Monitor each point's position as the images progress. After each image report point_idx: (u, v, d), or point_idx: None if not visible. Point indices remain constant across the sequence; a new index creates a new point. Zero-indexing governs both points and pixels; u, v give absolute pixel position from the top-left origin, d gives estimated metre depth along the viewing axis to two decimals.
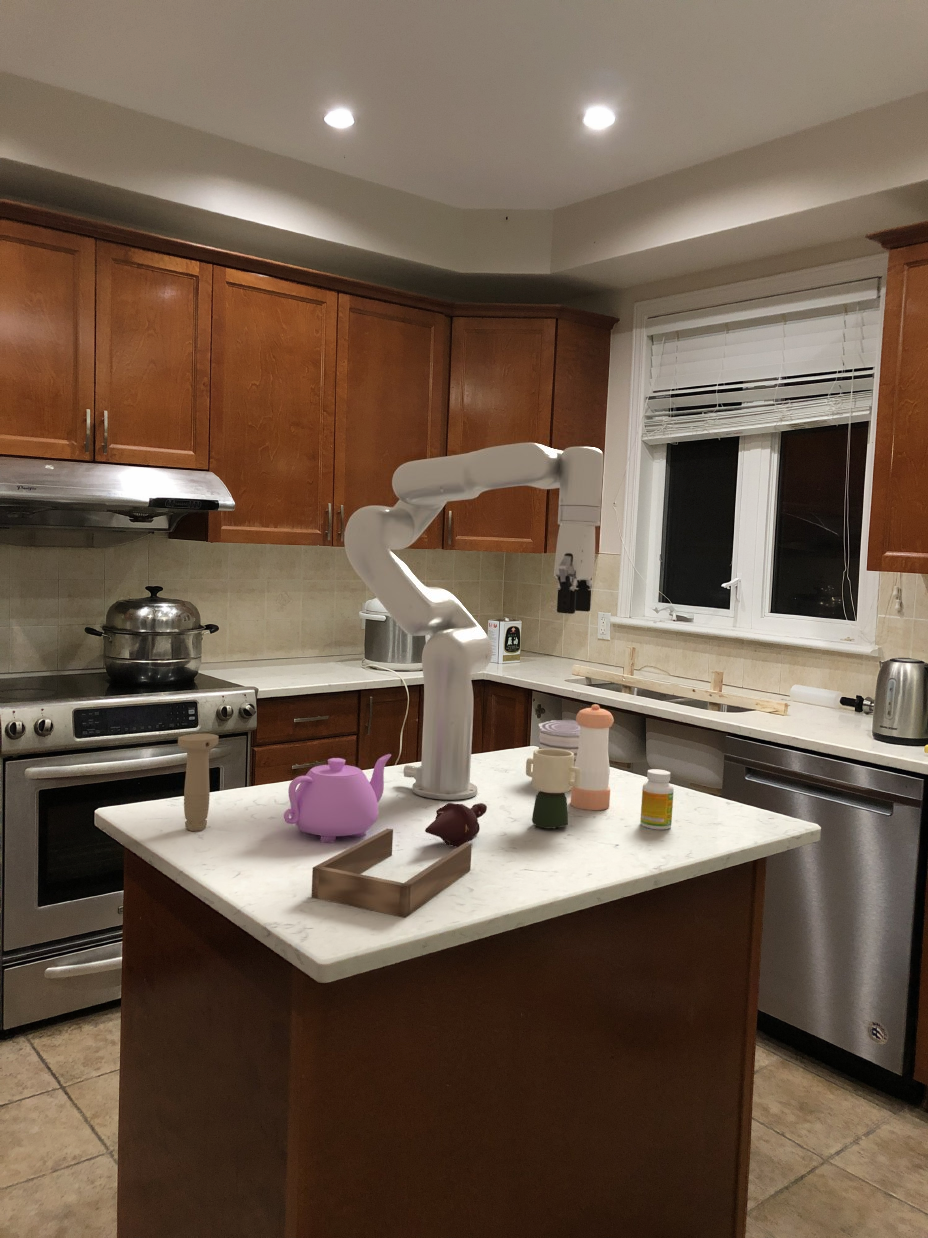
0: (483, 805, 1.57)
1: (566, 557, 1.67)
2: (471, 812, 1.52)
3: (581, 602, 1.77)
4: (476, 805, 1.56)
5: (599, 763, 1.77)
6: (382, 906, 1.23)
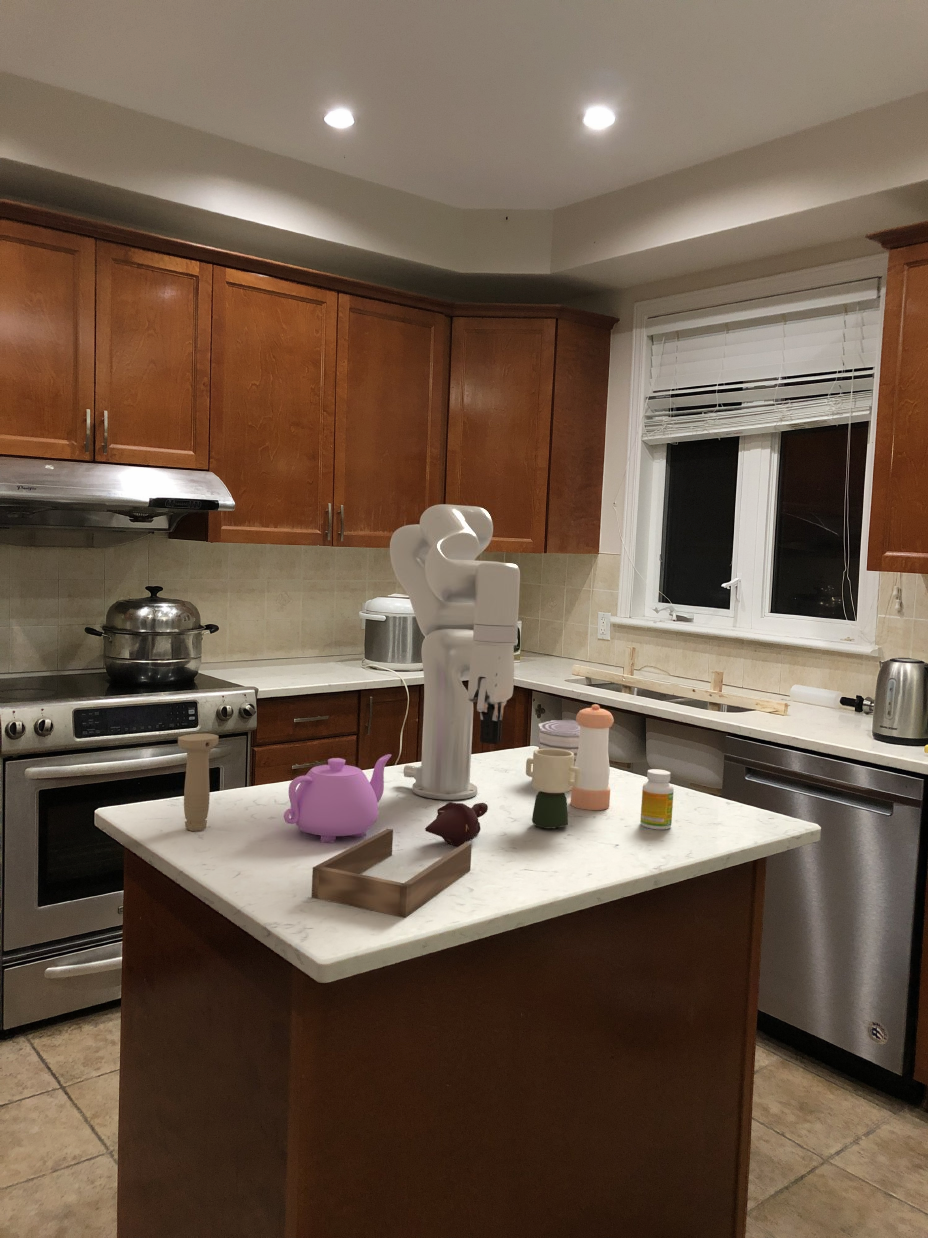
0: (484, 804, 1.57)
1: (481, 690, 1.58)
2: (472, 812, 1.53)
3: None
4: (477, 805, 1.57)
5: (599, 763, 1.77)
6: (382, 906, 1.23)
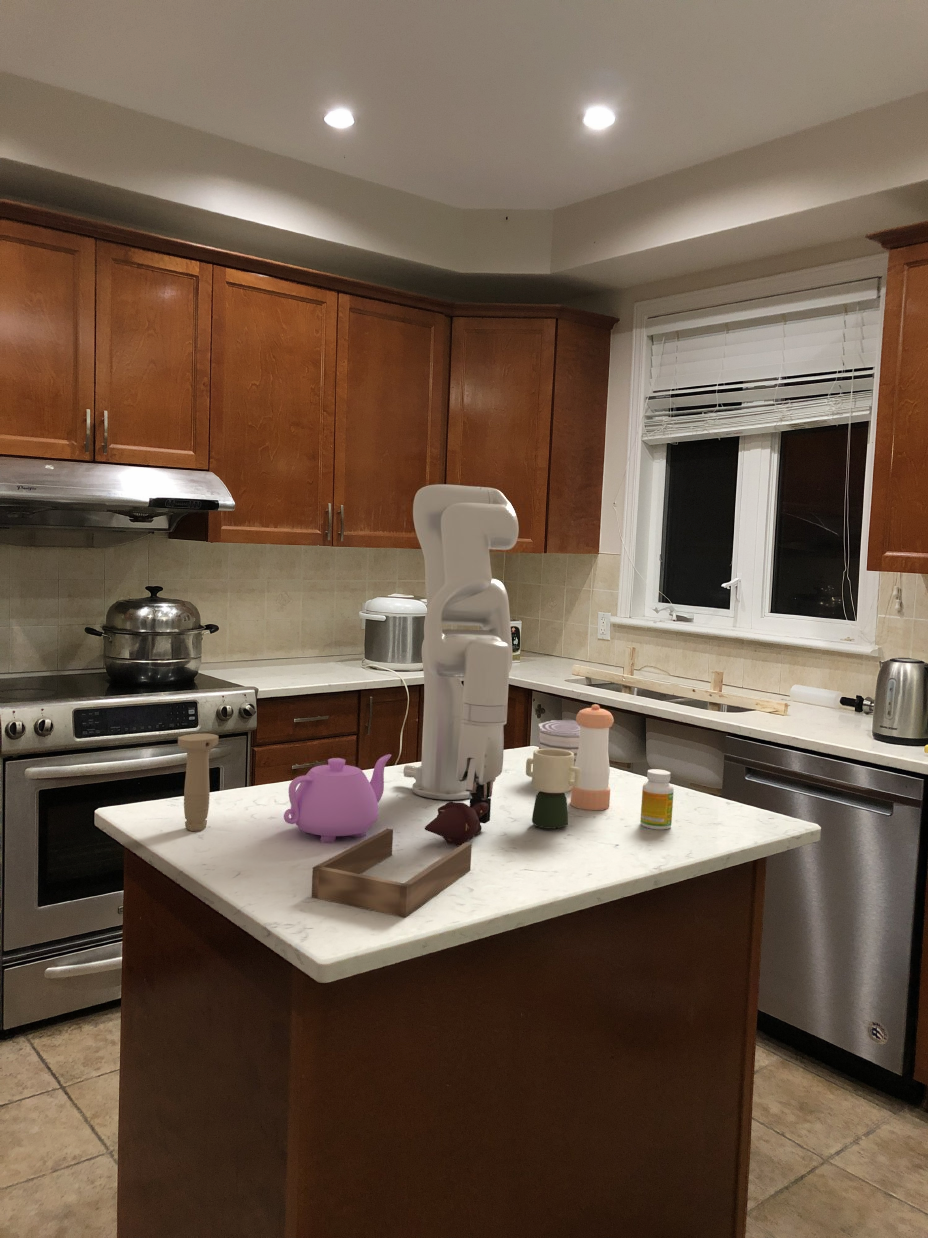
0: (485, 804, 1.57)
1: (470, 771, 1.57)
2: (472, 811, 1.53)
3: None
4: (478, 804, 1.57)
5: (599, 763, 1.77)
6: (382, 906, 1.23)
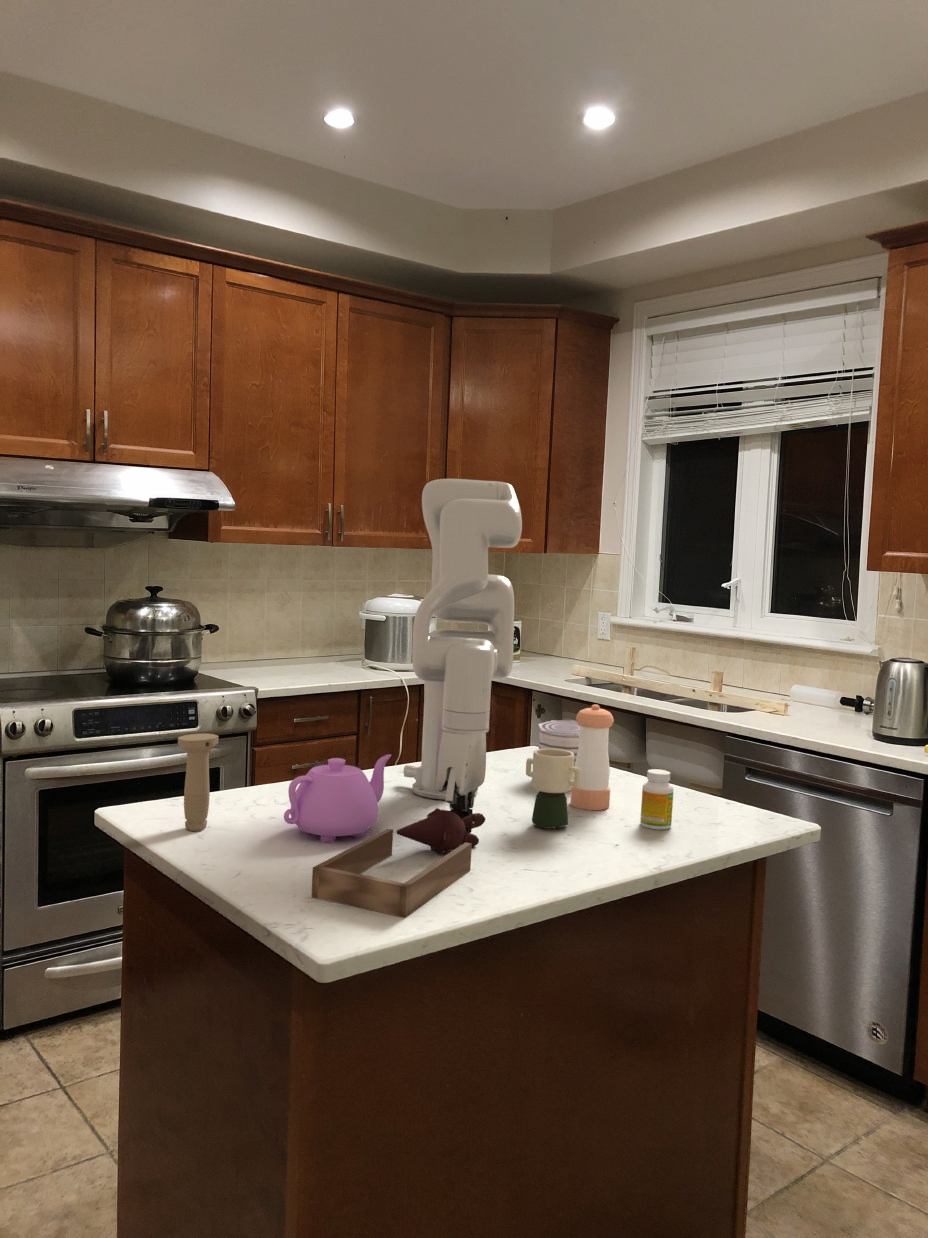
0: (479, 815, 1.50)
1: (450, 781, 1.50)
2: (455, 820, 1.47)
3: None
4: (472, 815, 1.51)
5: (599, 763, 1.77)
6: (382, 906, 1.23)
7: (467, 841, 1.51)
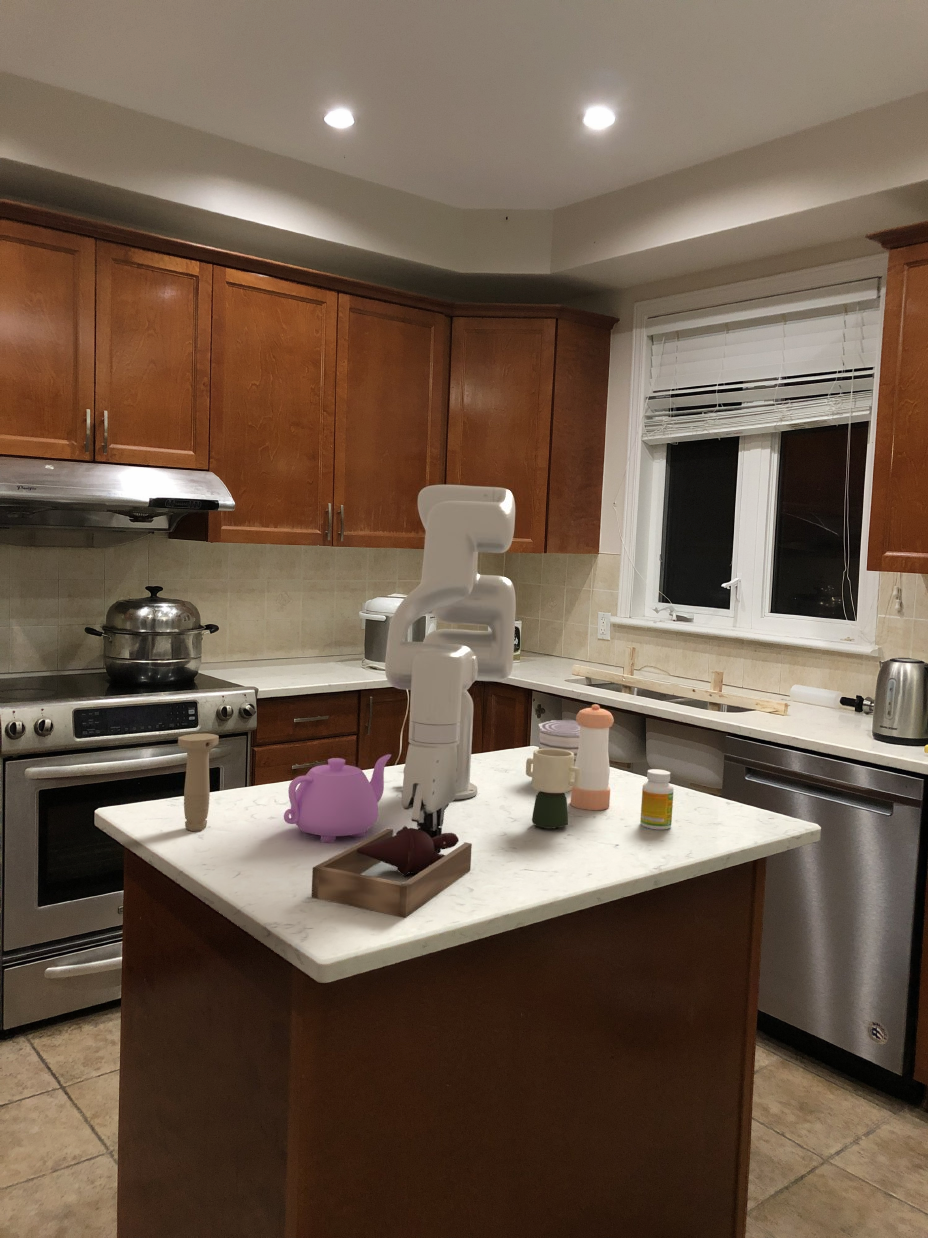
0: (451, 835, 1.39)
1: (417, 798, 1.39)
2: (422, 840, 1.36)
3: None
4: (443, 834, 1.40)
5: (599, 763, 1.77)
6: (382, 906, 1.23)
7: None
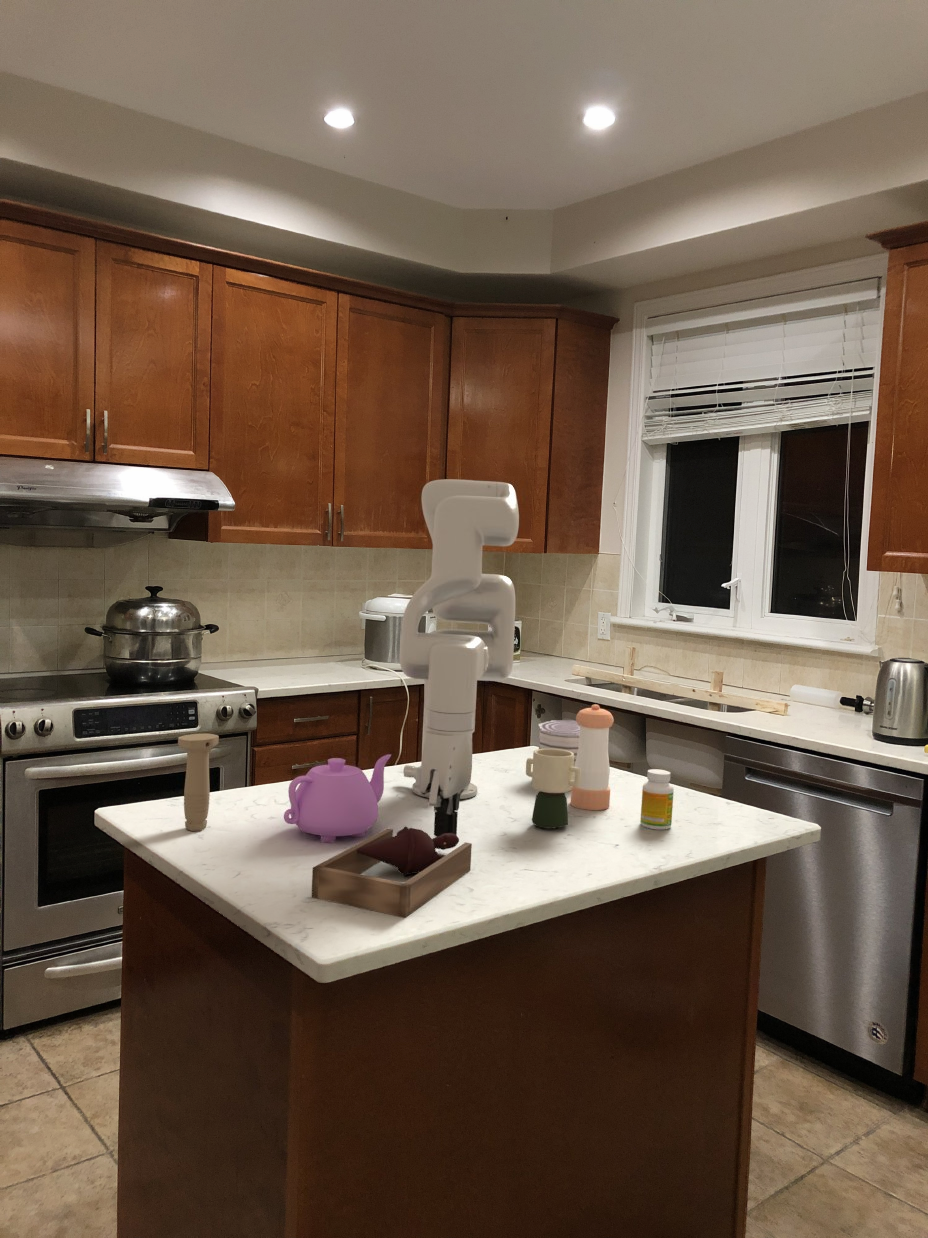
0: (451, 836, 1.39)
1: (434, 783, 1.44)
2: (422, 840, 1.36)
3: None
4: (444, 835, 1.40)
5: (599, 763, 1.77)
6: (382, 906, 1.23)
7: None
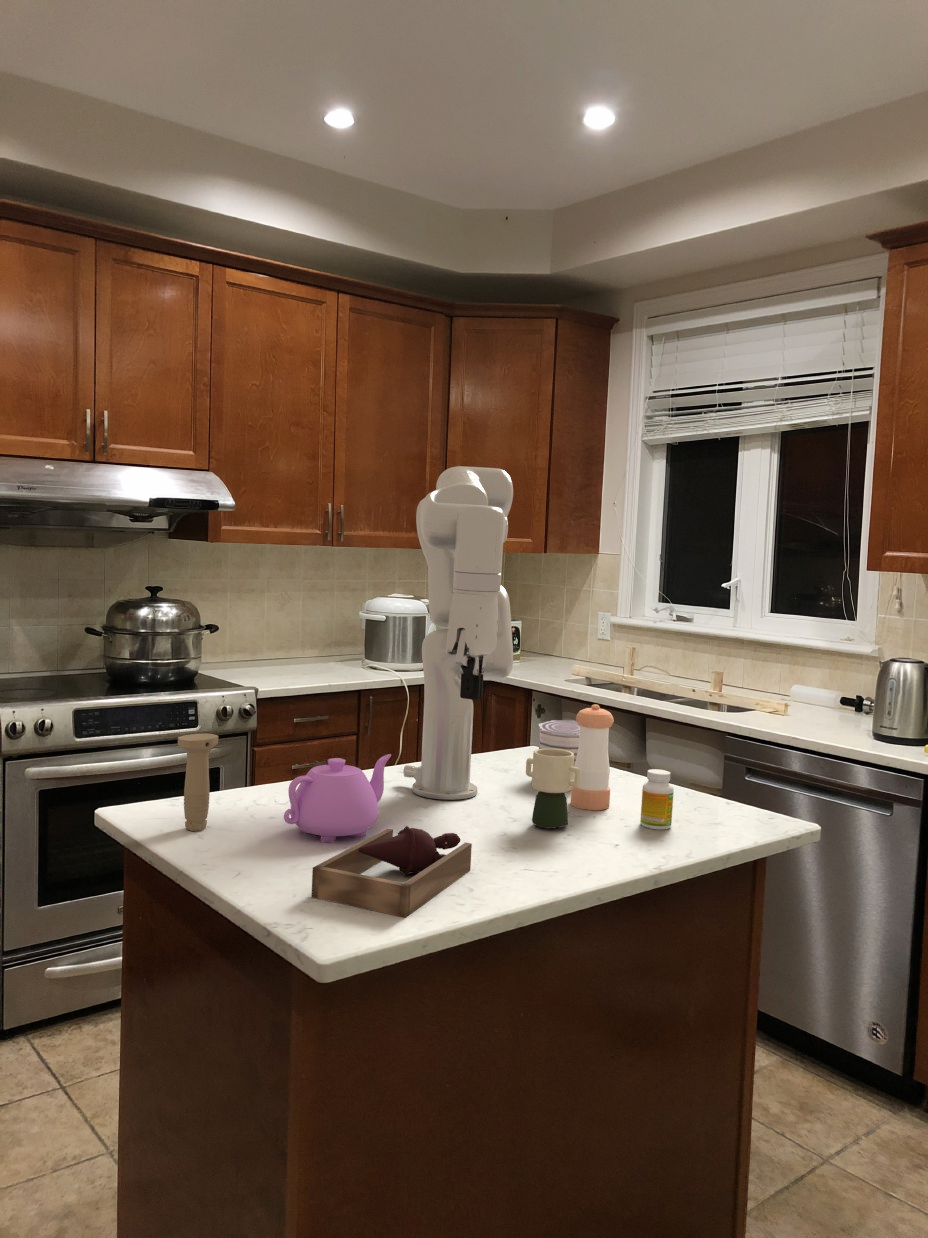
0: (452, 835, 1.39)
1: (461, 642, 1.48)
2: (423, 840, 1.36)
3: None
4: (445, 835, 1.40)
5: (599, 763, 1.77)
6: (382, 906, 1.23)
7: None
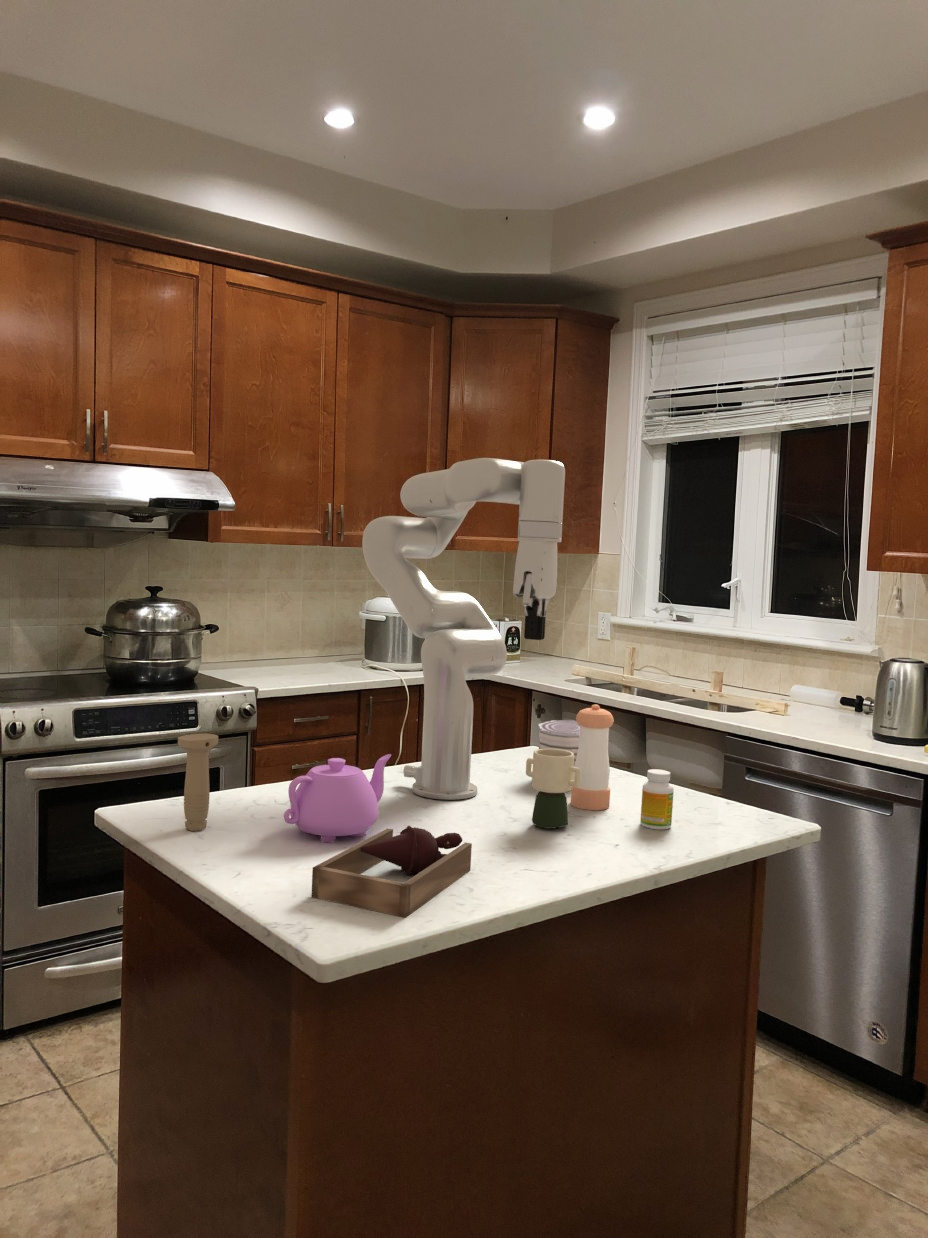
0: (454, 835, 1.39)
1: (527, 584, 1.61)
2: (425, 839, 1.37)
3: None
4: (447, 834, 1.40)
5: (599, 763, 1.77)
6: (382, 906, 1.23)
7: None
